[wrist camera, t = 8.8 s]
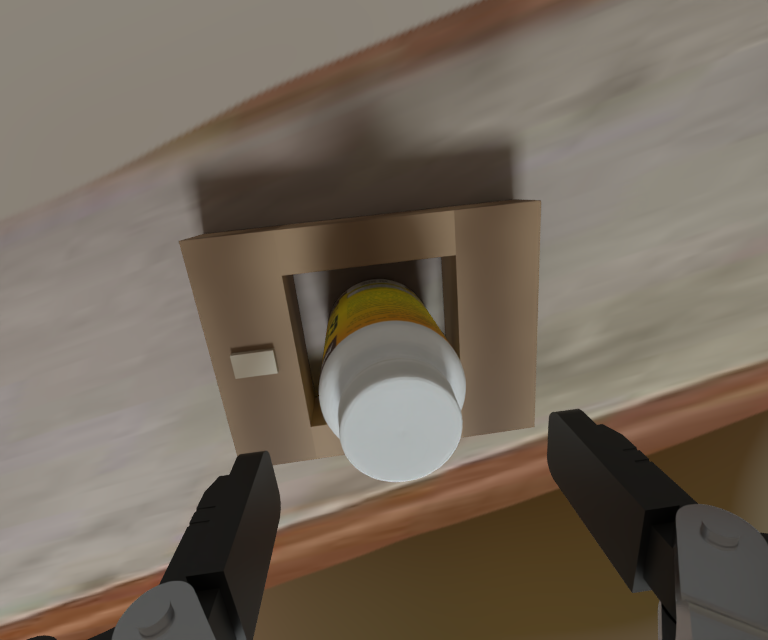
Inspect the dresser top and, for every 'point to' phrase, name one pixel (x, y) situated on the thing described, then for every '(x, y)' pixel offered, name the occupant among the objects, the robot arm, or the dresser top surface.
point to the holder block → (354, 249)
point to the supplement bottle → (390, 383)
